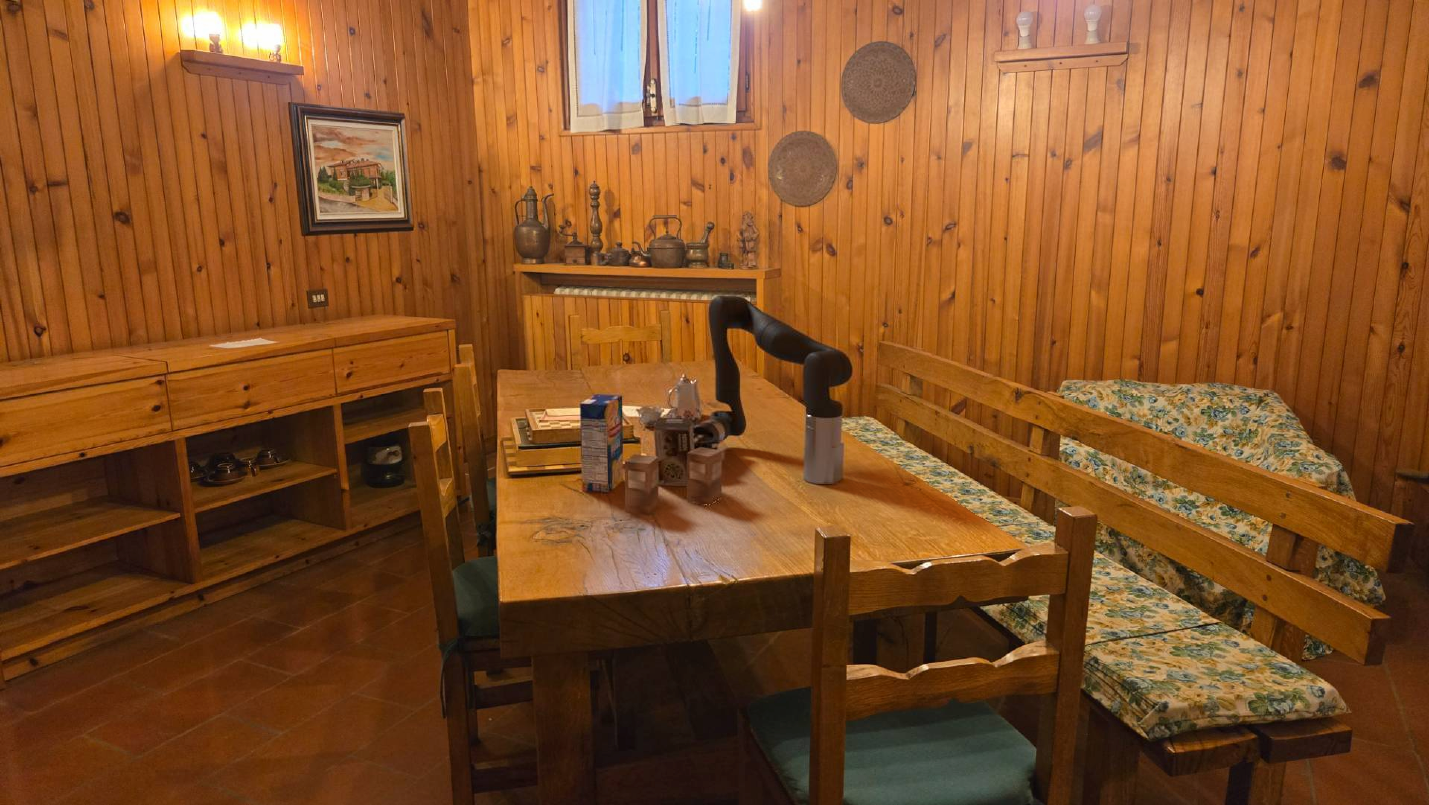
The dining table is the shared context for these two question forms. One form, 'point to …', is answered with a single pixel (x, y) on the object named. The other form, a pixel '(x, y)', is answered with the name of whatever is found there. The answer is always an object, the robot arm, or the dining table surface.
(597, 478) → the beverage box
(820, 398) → the robot arm
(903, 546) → the dining table surface
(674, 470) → the coffee box
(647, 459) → the marked block 1
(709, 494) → the marked block 2
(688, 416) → the chinaware
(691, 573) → the dining table surface
